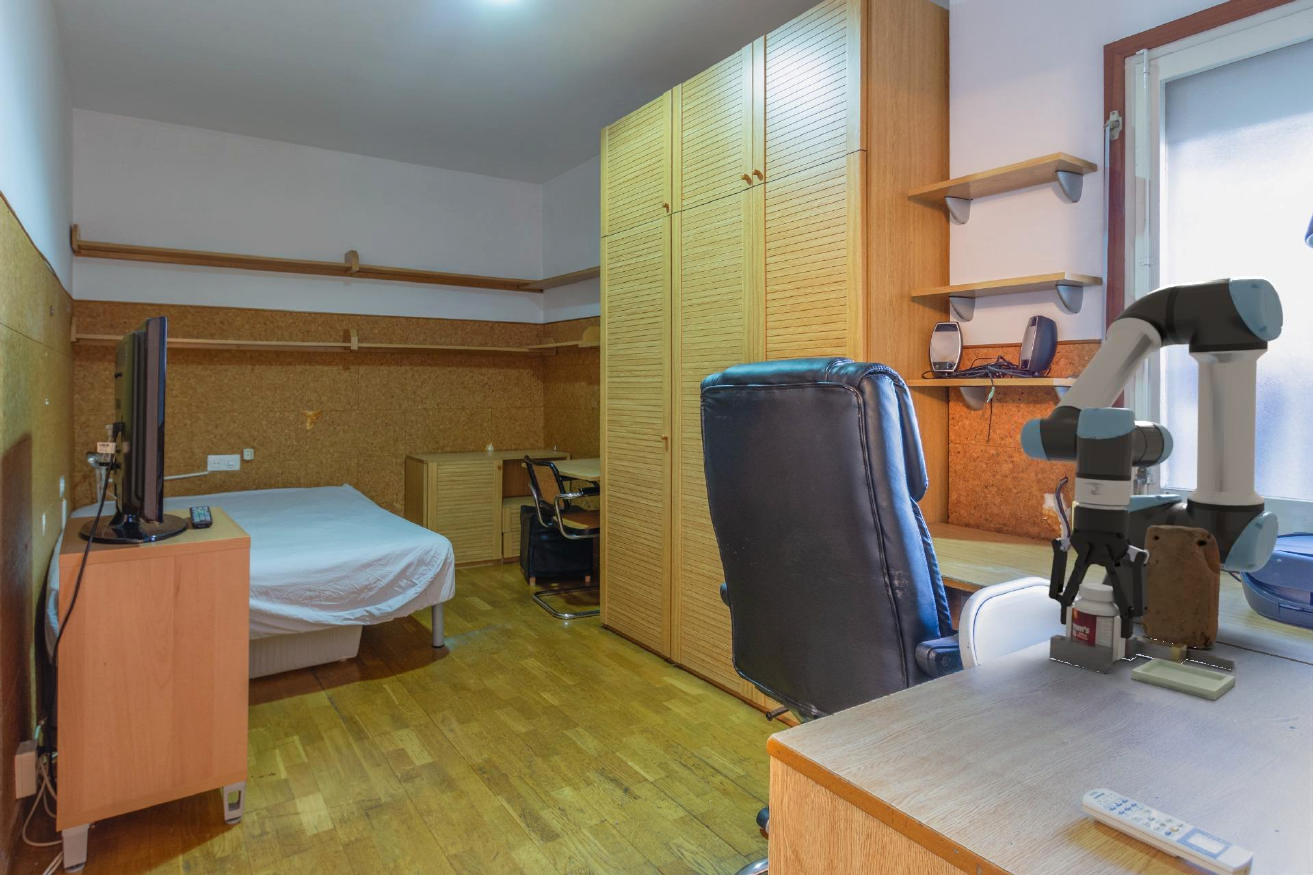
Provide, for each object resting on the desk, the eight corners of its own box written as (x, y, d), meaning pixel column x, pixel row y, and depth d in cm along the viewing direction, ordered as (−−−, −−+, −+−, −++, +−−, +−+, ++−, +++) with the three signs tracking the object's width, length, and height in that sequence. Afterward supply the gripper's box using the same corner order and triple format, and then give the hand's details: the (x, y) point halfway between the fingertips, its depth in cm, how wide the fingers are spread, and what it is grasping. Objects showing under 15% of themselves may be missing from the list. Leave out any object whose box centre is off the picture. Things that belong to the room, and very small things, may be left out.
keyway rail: (1125, 643, 126) (1125, 635, 126) (1234, 669, 115) (1234, 659, 115) (1122, 645, 126) (1123, 636, 126) (1232, 670, 114) (1232, 661, 114)
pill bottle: (1063, 651, 121) (1066, 581, 120) (1098, 651, 121) (1102, 581, 121) (1088, 664, 114) (1092, 590, 114) (1126, 663, 115) (1130, 591, 115)
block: (1134, 638, 130) (1141, 523, 130) (1149, 630, 135) (1155, 520, 134) (1209, 654, 122) (1217, 533, 121) (1222, 646, 127) (1229, 529, 126)
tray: (1155, 665, 116) (1155, 657, 115) (1234, 684, 108) (1235, 676, 108) (1131, 678, 109) (1131, 670, 109) (1214, 700, 101) (1214, 691, 101)
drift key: (1121, 646, 125) (1122, 630, 125) (1185, 661, 118) (1186, 644, 118) (1114, 650, 122) (1115, 633, 122) (1178, 666, 116) (1179, 648, 115)
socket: (1082, 645, 125) (1083, 624, 125) (1136, 658, 119) (1137, 636, 119) (1049, 659, 117) (1050, 637, 117) (1105, 674, 111) (1106, 650, 111)
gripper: (1028, 500, 122) (1021, 640, 123) (1164, 515, 107) (1155, 674, 108) (1048, 497, 127) (1041, 632, 128) (1181, 511, 112) (1172, 664, 113)
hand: (1094, 651), depth 118 cm, fingers closed on pill bottle, 6 cm apart
